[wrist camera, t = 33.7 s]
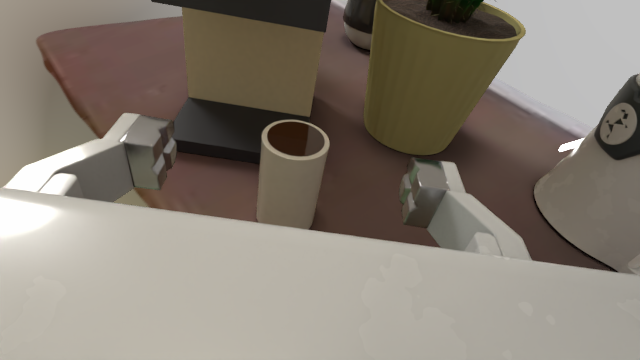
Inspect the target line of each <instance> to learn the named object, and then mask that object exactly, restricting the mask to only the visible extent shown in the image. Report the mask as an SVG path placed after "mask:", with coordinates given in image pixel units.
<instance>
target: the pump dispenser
mask: <svg viewBox="0 0 640 360" xmlns="http://www.w3.org/2000/svg"><path fill="white" fill-rule="evenodd" d="M375 5H376V0H348V1H347V4H346V7H345V11H344V15H343V20H344V26H345V32H346V34H347V36H348V38H349V39H350V41H351V42H352V43H354V44H355V45H357V46H358V47H361V48H363V49H368V50H371V41H372V31H373V21H374V11H375Z"/></svg>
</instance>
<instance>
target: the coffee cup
mask: <svg viewBox="0 0 640 360" xmlns="http://www.w3.org/2000/svg"><path fill="white" fill-rule="evenodd" d="M329 145H330V142H329V138H328V136H327V135H326V134H325V132H324V131H323V130H321V129H320V128H319V127H317V126H315V125H313V124H311V123H308V122H304V121H300V120H281V121H277V122H274V123H271V124H270V125H268V126H267V127H266V128H265V129H264V130H263V132H262V137H261V151H260V165H259V179H258V193H257V207H256V217H257V220H258V222H259V223H264V224H271V225H278V226H285V227H293V228H300V229H307V230H308V229H309V228H310V227H311V225H312V223H313V219H314V215H315V210H316V206H317V201H318V196H319V192H320V187H321V183H322V178H323V173H324V169H325V164H326V160H327V155H328V150H329Z"/></svg>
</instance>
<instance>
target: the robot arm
mask: <svg viewBox="0 0 640 360" xmlns="http://www.w3.org/2000/svg"><path fill="white" fill-rule="evenodd" d="M174 132H175V128H174V122H173V121H172V120H168V119H162V118H157V117H151V116H145V115H139V114H133V113H123V114H122V115H121V117H120V118H119V119H118V120H117V122H116V123H115V124H114V125H113V126H112V128H111V129H110V130H109V131H108V132H107V134H106V135H105V136H104V137H103V138H102V139H95V140H92V141H90V142H87V143H85V144H82V145H79V146H77V147H74V148H72V149H69V150H66V151H64V152H61V153H59V154H56V155H53V156H51V157H48V158H45V159H43V160H40V161H37V162H35V163H32V164H30V165H27V166H24V167H23V168H22V169H21V170H20V171H19V172H18V173H17V174H16V175H15V176H14V177H13V178H12V179H11V180H10V181H9V182H8V183H7V184H6V185H5V186H4V187H0V360H640V73H639V74H637V75H633V76H632V77H630V78H629V80H628V81H627V82H626V83H625V85H624V86H623V87H622V88H621V89H620V90H619V92H618V94H617V95H616V96H615V97H614V99H613V100H612V101H611V102H610V104H609V105H608V106H607V108H606V110H605V112H604V114H603V116H602V118H601V120H600V122H599V124H598V125H597V126H596V127H595V128H594V129H593V130H592V131H591V132H590V133H589V134H588V135H587V136H586V137H585V138H584V139H580V140H577V141H573V142H570V143H567V144H563V145H561V147H560V148H559V151H560V152H561V151H565V150H568V149H571V148H574V147H576V148H575V149H574V150H573V151H572V152H571V153H570V154H569V155H568V156H567V157H566V158H564V159H562V160H561V161H560V162H559V163H558V164H557V166H556V167H555V168H553V169H552V170H551V171H550V172H549V173H547V174H546V175H545V176H543V177H542V178H541V179H539V180H538V181H537V183H536V184H535V187H534V196H535V200H536V203H537V205H538V207H539V209H540V211H541V212H542V214H543V215H544V217H545V218H546V219H547V220H548V222H549V223H550V224H551V225H552V226H553V227H554V228H555V229H556V230H557V231H558V232H559V233H560V234H561V235H562V236H563V237H565V238H566V239H567V240H568V241H570V242H571V243H572V244H574V245H575V246H576V247H578V248H579V249H581V250H582V251H584V252H585V253H587V254H589V255H590V256H592V257H594V258H596V259H598V260H599V261H601V262H603V263H605V264H607V265H608V266H610V267H612V268H613V269H615V270H617V271H618V272H611V271H604V270H597V269H589V268H582V267H575V266H567V265H560V264H553V263H545V262H538V261H532V259H531V257H530V255H529V252H528V250H527V248H526V246H525V243H524V241H523V239H522V237H521V236H519V235H518V234H517V233H516V232H515V231H513V230H512V229H511V228H510V227H509V226H507V225H506V224H505V223H504V222H503V221H502V220H500V219H499V218H498V217H497V216H496V215H494V214H493V213H492V212H491V211H490V210H489V209H487V208H486V207H485V206H484V205H483V204H481V203H480V202H479V201H478V200H477V199H476V198H474V197H473V196H472V195H471V194H467V193H466V192H465V189H464V186H463V183H462V180H461V178H460V175H459V172H458V169H457V166H456V164H455V163H454V162H446V161H435V160H428V159H421V158H414V157H411V159H410V160H409V162H408V165H407V170H408V173H407V174H405V175H404V176H403V177H402V180H401V183H400V189H399V199H400V202H401V203H402V204H403V207H402V210H401V212H402V218H403V225H409V226H415V227H421V228H427V230H428V232H429V233H430V234H431V235H432V237H433V238H434V239H435V241H436V242H437V243H438V244H439V246H440V247H441V248H437V247H430V246H423V245H416V244H408V243H401V242H394V241H387V240H379V239H372V238H365V237H358V236H350V235H343V234H336V233H329V232H322V231H314V230H307V229H300V228H293V227H285V226H278V225H271V224H264V223H257V222H249V221H242V220H235V219H228V218H220V217H213V216H206V215H199V214H192V213H184V212H177V211H170V210H163V209H156V208H148V207H141V206H133V205H127V204H119V203H112V202H114V201H115V200H117V199H118V198H120V197H121V196H123V195H125V194H126V193H128V192H129V191H131V190H132V189H134V187H138V188H146V189H155V190H160V189H161V187H162V186H163V184H164V182H165V180H166V178H167V172H166V171H168V170H169V169H171V168H172V167H173V165H174V163H175V159H176V155H177V145H176V141H175V140H174V139H173V138H172V135H173V134H174Z"/></svg>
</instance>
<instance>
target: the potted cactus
mask: <svg viewBox="0 0 640 360" xmlns="http://www.w3.org/2000/svg"><path fill="white" fill-rule="evenodd" d="M483 1H484V0H376V5H375V11H374V21H373V31H372V41H371V50H370V60H369V69H368V78H367V88H366V97H365V106H364V116H363V117H364V125H365V127H366V129H367V131H368V132H369V133H370V134H371V135H372V136H373V137H374V138H375V139H376V140H378V141H379V142H381V143H382V144H384V145H386V146H388V147H390V148H392V149H395V150H397V151H400V152H404V153H408V154H414V155H431V154H436V153H439V152H441V151H443V150H444V149H445V148H446V147H447V146H448V144H450V142H451V141H452V139H453V138H454V136H455V135H456V133H457V132H458V131H459V129H460V128H461V126H462V125H463V123H464V122H465V120H466V119H467V117H468V116H469V114H470V113H471V111H472V110H473V108H474V107H475V106H476V104H477V103H478V101H479V100H480V98H481V97H482V95H483V94H484V92H485V91H486V89H487V88H488V86H489V85H490V84H491V82H492V81H493V79H494V78H495V76H496V75H497V73H498V72H499V70H500V69H501V67H502V66H503V65H504V63H505V62H506V60H507V59H508V57H509V56H510V54H511V53H512V51H513V50H514V49H515V47H516V45H517V43H518V42H519V40H520V39H521V38H522V37H523V36H524V35H525V32H526V30H525V28H524V26H523V25H522V24H521V23H520V22H519V21H518V20H517V19H515V18H514V17H513V16H511V15H510V14H508V13H506V12H504V11H502V10H500V9H498V8H496V7H494V6H492V5H489V4H487V3H484V2H483Z"/></svg>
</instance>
